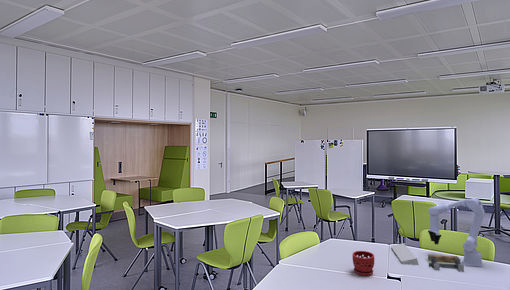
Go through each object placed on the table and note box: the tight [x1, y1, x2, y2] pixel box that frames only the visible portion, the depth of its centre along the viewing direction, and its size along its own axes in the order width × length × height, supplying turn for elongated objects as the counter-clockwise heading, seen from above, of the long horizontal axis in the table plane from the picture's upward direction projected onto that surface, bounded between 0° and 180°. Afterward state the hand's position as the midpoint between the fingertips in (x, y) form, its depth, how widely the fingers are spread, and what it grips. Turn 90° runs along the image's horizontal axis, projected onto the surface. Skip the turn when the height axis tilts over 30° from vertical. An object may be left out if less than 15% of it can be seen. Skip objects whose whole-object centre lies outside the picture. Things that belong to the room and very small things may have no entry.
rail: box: [427, 254, 460, 263], centre depth 219 cm, size 18×4×4 cm, turn 78°
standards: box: [428, 257, 465, 273], centre depth 206 cm, size 20×6×6 cm, turn 78°
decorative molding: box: [390, 242, 420, 266], centre depth 232 cm, size 34×5×10 cm
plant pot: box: [352, 250, 375, 277], centre depth 202 cm, size 13×13×12 cm
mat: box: [424, 258, 455, 264], centre depth 219 cm, size 20×9×1 cm, turn 78°
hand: (434, 242), depth 230 cm, fingers open, 7 cm apart
